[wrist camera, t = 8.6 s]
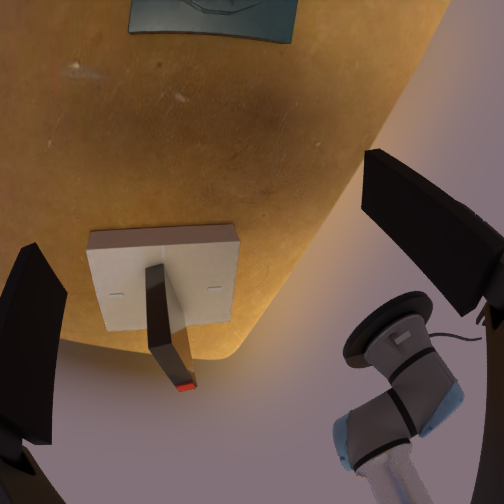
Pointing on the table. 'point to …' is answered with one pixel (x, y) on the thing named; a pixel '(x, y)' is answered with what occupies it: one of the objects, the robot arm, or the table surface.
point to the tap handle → (168, 329)
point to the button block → (216, 18)
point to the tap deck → (176, 264)
